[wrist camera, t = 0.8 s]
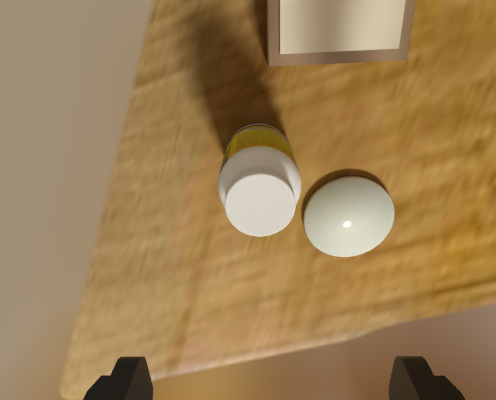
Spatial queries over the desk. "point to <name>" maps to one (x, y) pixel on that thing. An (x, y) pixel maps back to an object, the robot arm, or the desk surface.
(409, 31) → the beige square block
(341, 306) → the desk surface
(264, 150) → the pill bottle
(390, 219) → the pale white disc
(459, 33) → the desk surface
